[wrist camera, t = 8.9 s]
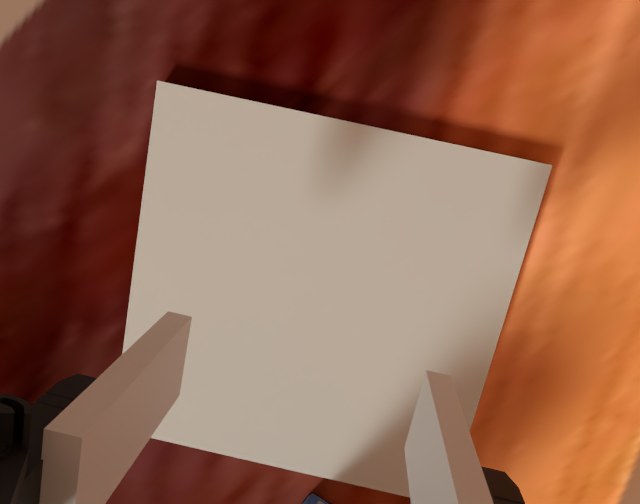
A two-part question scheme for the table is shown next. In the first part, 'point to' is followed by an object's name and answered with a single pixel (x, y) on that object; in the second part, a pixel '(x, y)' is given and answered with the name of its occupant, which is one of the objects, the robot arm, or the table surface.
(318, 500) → the ink cartridge box
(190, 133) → the mat
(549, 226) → the table surface
